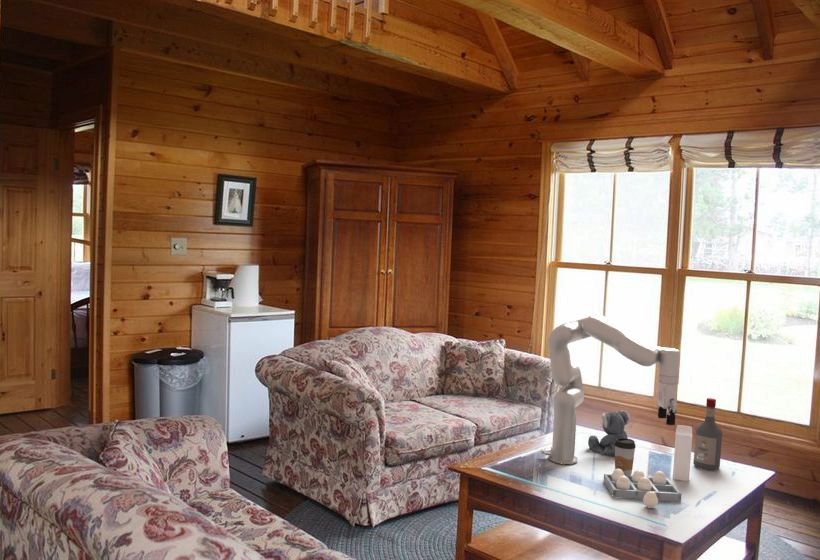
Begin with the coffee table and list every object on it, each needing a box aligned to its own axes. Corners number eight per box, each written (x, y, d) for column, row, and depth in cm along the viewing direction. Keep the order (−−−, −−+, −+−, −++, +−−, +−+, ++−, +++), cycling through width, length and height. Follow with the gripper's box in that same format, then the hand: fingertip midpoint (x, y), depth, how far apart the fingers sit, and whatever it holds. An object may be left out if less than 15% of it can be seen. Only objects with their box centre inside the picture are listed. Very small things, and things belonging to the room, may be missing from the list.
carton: (613, 497, 261) (614, 479, 261) (603, 481, 278) (604, 464, 278) (681, 501, 260) (682, 483, 259) (667, 485, 277) (668, 468, 276)
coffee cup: (608, 475, 285) (611, 440, 284) (618, 471, 291) (620, 436, 290) (627, 481, 279) (630, 445, 278) (637, 476, 285) (639, 440, 284)
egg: (644, 509, 251) (645, 493, 250) (640, 504, 256) (641, 488, 256) (659, 510, 251) (660, 494, 250) (655, 505, 256) (656, 489, 255)
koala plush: (614, 445, 328) (617, 404, 326) (641, 457, 311) (644, 414, 310) (584, 448, 321) (587, 407, 319) (610, 461, 304) (613, 417, 303)
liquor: (712, 472, 294) (717, 402, 292) (691, 466, 301) (696, 398, 299) (721, 468, 301) (726, 400, 298) (700, 462, 307) (705, 395, 305)
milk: (672, 474, 290) (676, 422, 288) (688, 477, 288) (691, 424, 286) (673, 479, 284) (676, 426, 282) (689, 481, 282) (692, 428, 281)
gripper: (652, 374, 286) (649, 415, 287) (666, 383, 269) (664, 427, 270) (670, 375, 286) (668, 416, 287) (686, 384, 268) (683, 427, 270)
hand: (666, 421), depth 278 cm, fingers open, 9 cm apart
